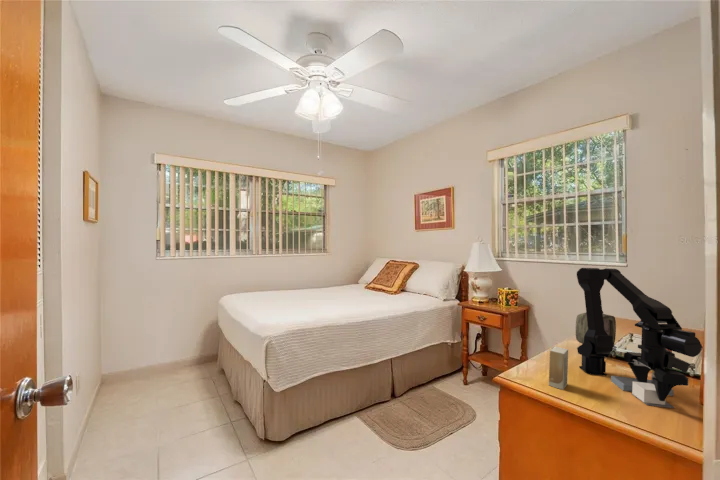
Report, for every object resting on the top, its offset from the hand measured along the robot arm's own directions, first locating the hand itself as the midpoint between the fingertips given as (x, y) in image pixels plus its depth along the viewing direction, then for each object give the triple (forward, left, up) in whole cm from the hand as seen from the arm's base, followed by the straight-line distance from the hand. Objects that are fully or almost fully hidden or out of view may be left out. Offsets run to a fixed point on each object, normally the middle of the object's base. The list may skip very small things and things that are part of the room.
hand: (652, 394), depth 96 cm
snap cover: (-1, 0, -2) cm, 2 cm away
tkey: (+5, +8, 0) cm, 10 cm away
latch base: (+2, +9, -2) cm, 9 cm away
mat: (0, 0, -2) cm, 2 cm away
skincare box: (-25, +4, -2) cm, 25 cm away
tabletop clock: (+5, +44, -2) cm, 44 cm away
